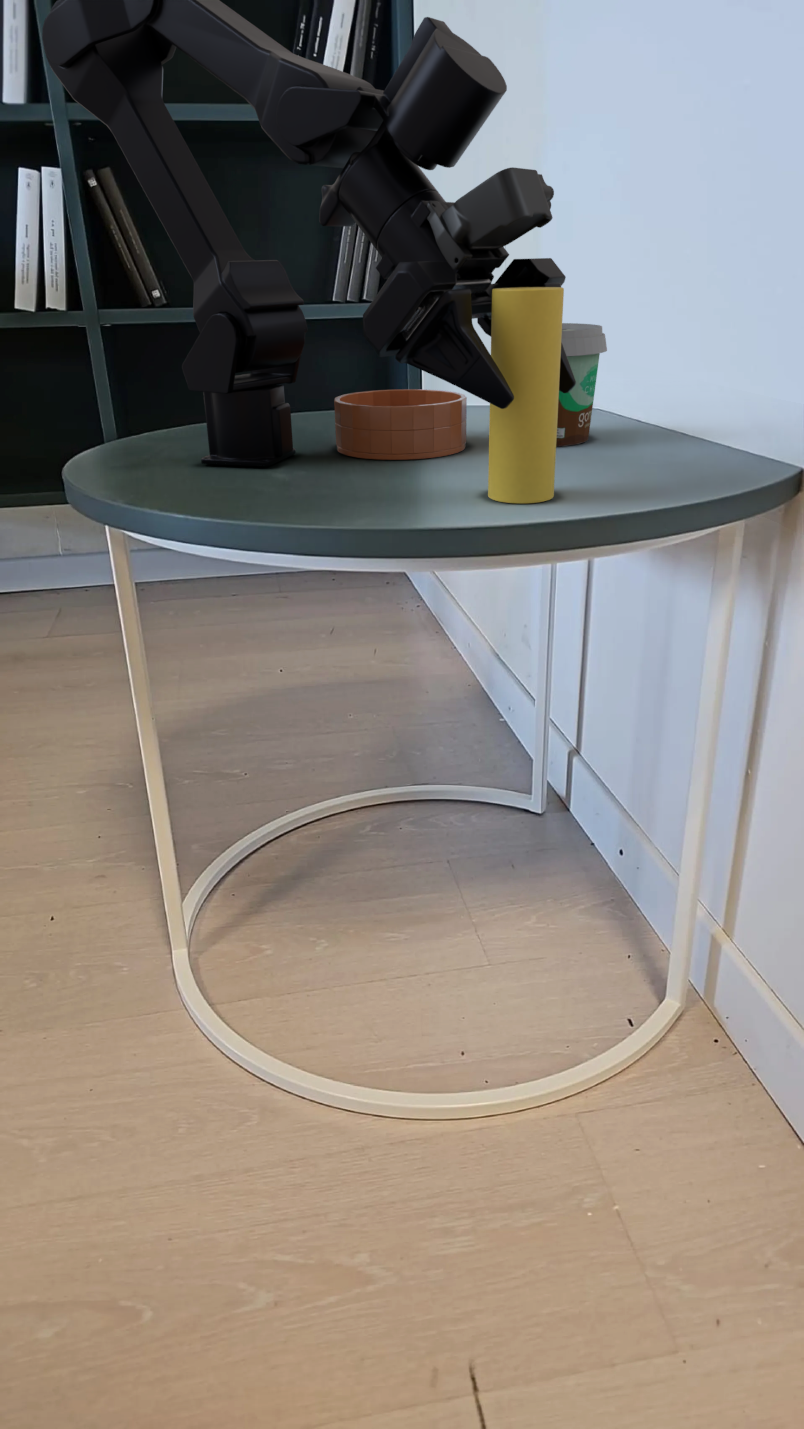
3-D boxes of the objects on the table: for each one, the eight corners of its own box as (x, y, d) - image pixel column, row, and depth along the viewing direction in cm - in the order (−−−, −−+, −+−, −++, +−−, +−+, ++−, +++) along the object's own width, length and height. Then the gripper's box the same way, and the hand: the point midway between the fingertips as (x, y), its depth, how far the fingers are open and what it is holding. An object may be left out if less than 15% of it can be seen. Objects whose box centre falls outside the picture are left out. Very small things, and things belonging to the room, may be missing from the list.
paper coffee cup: (599, 451, 86) (608, 331, 82) (530, 449, 87) (535, 331, 83) (602, 428, 97) (609, 322, 93) (540, 428, 98) (545, 322, 94)
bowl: (317, 457, 86) (314, 405, 84) (361, 435, 96) (359, 388, 94) (447, 462, 83) (447, 408, 81) (478, 438, 93) (478, 390, 91)
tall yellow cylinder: (481, 502, 69) (485, 289, 63) (495, 487, 73) (499, 287, 67) (548, 505, 68) (558, 288, 62) (558, 490, 72) (568, 286, 66)
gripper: (394, 108, 56) (556, 316, 54) (547, 134, 69) (679, 301, 68) (301, 261, 63) (441, 446, 62) (455, 257, 77) (572, 409, 76)
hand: (541, 396), depth 67 cm, fingers open, 9 cm apart
